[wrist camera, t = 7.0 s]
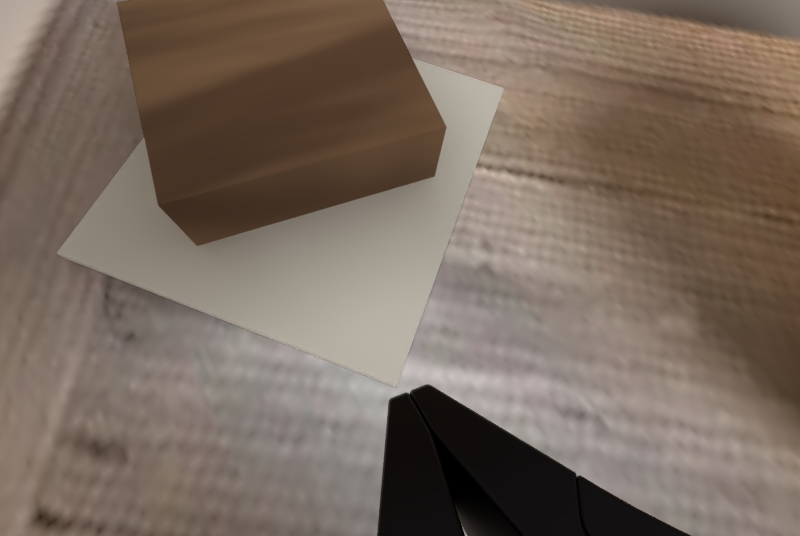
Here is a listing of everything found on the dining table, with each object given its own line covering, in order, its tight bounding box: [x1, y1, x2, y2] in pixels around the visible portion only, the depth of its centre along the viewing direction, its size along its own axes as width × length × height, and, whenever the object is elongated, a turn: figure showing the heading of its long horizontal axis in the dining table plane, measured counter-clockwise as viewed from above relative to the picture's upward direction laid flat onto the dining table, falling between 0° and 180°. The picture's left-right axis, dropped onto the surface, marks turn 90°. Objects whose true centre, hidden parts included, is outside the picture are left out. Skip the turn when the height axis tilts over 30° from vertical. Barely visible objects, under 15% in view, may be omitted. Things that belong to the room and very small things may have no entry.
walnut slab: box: [117, 0, 447, 246], centre depth 16 cm, size 3×10×9 cm
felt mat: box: [57, 58, 504, 388], centre depth 17 cm, size 13×14×1 cm
